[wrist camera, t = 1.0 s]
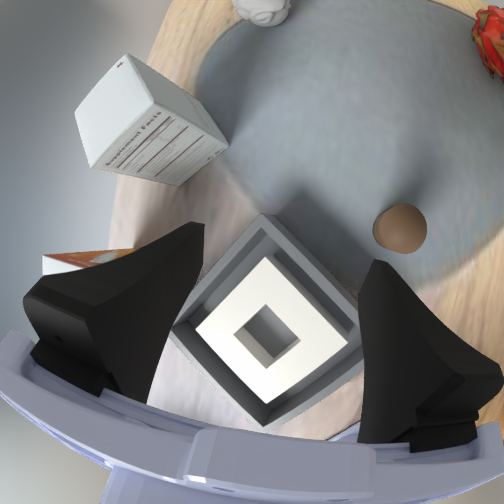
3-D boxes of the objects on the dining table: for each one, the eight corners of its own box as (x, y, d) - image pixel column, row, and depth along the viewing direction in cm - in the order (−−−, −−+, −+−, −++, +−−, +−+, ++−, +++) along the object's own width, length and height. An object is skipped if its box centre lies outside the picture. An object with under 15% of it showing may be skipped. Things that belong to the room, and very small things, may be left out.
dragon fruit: (490, 34, 16) (493, 106, 20) (452, -7, 14) (455, 67, 17) (539, 31, 8) (549, 113, 12) (505, -19, 6) (523, 64, 9)
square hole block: (385, 331, 23) (390, 347, 19) (274, 414, 27) (263, 435, 24) (274, 215, 26) (260, 212, 22) (182, 317, 30) (160, 327, 27)
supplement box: (154, 141, 30) (71, 111, 19) (201, 101, 28) (127, 48, 16) (179, 189, 30) (87, 170, 18) (232, 147, 27) (154, 99, 15)
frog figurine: (270, -2, 24) (251, -37, 18) (309, 18, 23) (296, -22, 17) (235, 23, 26) (210, -10, 20) (272, 45, 25) (250, 8, 18)
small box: (185, 255, 30) (88, 268, 17) (182, 312, 30) (93, 349, 18) (131, 246, 32) (40, 253, 20) (130, 297, 33) (44, 320, 21)
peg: (413, 230, 22) (435, 229, 15) (390, 256, 23) (404, 264, 16) (389, 204, 23) (403, 193, 16) (365, 230, 23) (371, 228, 17)
